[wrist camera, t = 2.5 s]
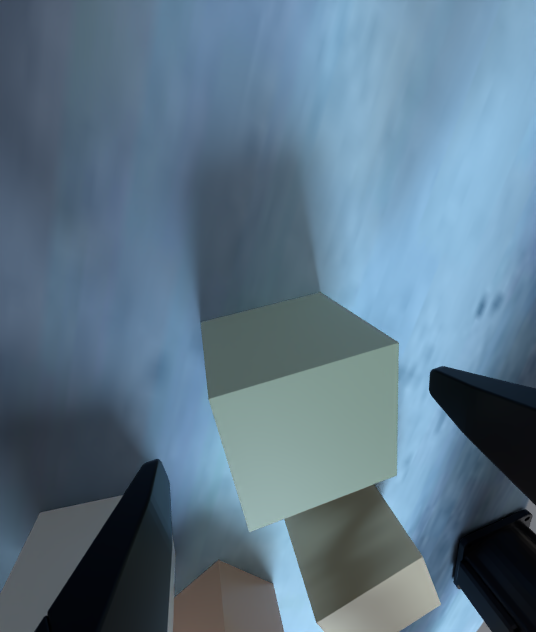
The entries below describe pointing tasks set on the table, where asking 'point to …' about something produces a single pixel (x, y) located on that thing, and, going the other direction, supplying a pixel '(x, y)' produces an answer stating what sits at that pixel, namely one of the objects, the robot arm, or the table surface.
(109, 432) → the table surface
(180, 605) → the terracotta cube
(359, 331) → the sage cube
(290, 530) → the beech cube
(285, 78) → the table surface
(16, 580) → the white cube
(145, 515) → the robot arm
